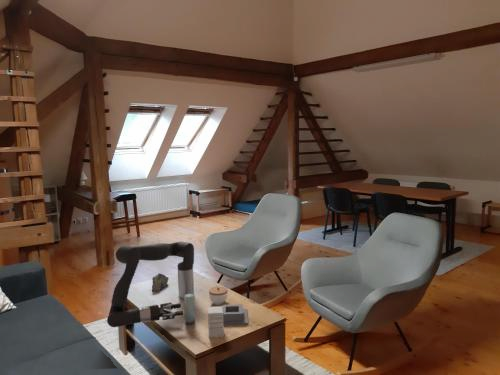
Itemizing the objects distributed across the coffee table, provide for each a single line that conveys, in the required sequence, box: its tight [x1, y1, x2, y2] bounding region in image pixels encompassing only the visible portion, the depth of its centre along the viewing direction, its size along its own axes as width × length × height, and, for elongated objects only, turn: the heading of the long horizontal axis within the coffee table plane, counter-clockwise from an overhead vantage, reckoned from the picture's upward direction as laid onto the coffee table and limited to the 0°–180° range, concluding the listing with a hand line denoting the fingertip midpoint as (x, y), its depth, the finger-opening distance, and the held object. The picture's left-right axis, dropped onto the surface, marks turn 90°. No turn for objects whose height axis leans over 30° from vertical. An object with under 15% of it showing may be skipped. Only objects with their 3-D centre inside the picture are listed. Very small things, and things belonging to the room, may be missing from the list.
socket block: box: [221, 304, 249, 327], centre depth 211 cm, size 16×16×5 cm
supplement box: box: [207, 305, 225, 339], centre depth 194 cm, size 7×7×13 cm
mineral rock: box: [151, 272, 170, 292], centre depth 254 cm, size 13×11×10 cm
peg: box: [183, 294, 196, 326], centre depth 206 cm, size 5×5×15 cm
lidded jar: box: [208, 286, 228, 306], centre depth 230 cm, size 11×11×9 cm
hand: (181, 308), depth 204 cm, fingers open, 8 cm apart
